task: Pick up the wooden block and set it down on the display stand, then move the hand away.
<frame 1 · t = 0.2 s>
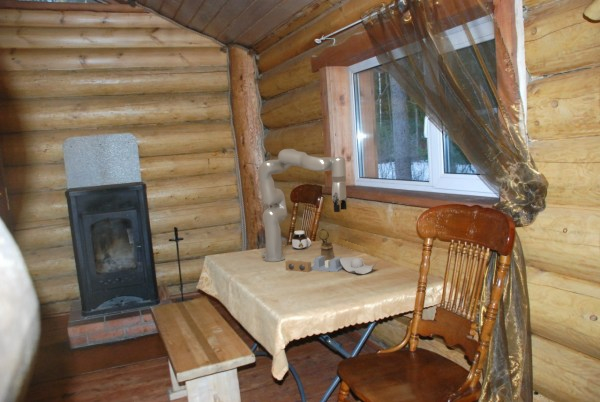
hand: (340, 210, 262), 31 cm above the table, fingers open, 9 cm apart
mask: (358, 271, 253), on the table
display stand: (327, 268, 259), on the table
spread jar: (302, 248, 316), on the table
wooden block: (298, 270, 259), on the table
wooden mug: (326, 261, 277), on the table
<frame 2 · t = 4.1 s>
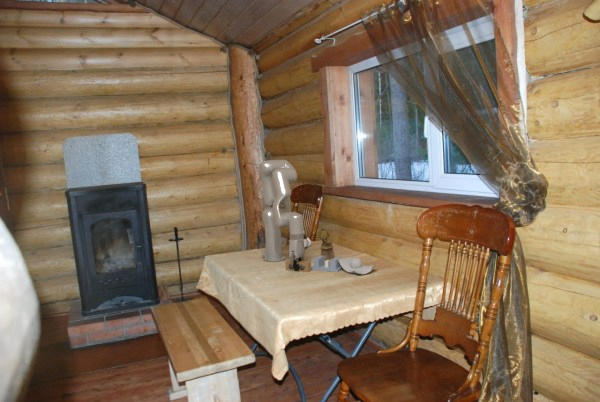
hand: (298, 269, 259), 0 cm above the table, fingers closed on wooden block, 3 cm apart
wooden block: (298, 270, 259), on the table, touching gripper
when the fingers open (8 cm above the table, at t = 9.1 s): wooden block stays where it is, resting on display stand.
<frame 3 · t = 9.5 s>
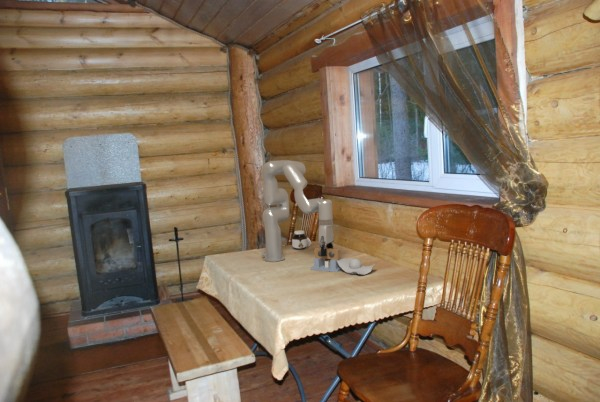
hand: (327, 254, 258), 8 cm above the table, fingers open, 8 cm apart
mask: (356, 272, 251), on the table
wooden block: (327, 258, 259), point 6 cm above the table, touching display stand
everything else where it was.
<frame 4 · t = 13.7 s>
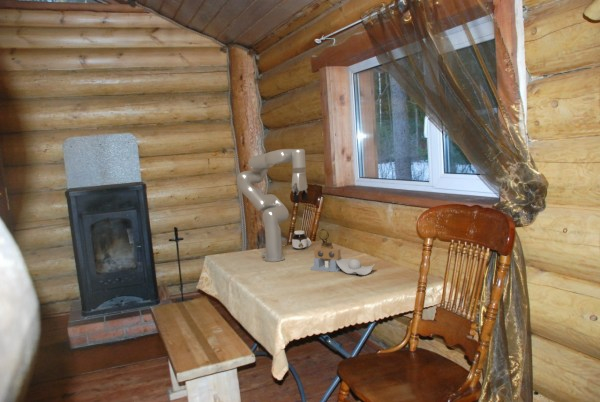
hand: (300, 201, 269), 36 cm above the table, fingers open, 9 cm apart
at the end: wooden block 0.1 cm off-centre on the display stand, point 6.0 cm above the display stand's base; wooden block tilted 0°; the gripper is holding nothing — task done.
